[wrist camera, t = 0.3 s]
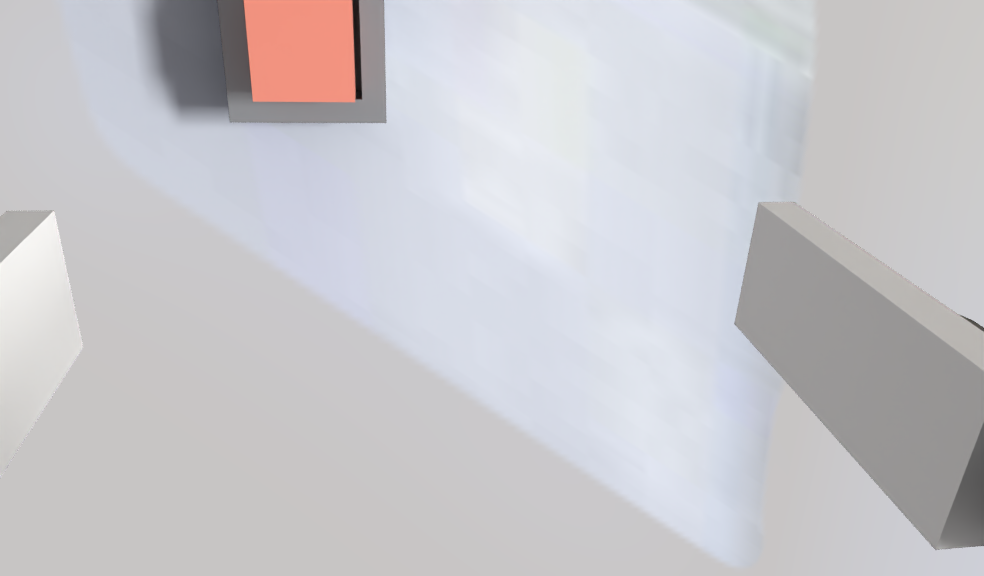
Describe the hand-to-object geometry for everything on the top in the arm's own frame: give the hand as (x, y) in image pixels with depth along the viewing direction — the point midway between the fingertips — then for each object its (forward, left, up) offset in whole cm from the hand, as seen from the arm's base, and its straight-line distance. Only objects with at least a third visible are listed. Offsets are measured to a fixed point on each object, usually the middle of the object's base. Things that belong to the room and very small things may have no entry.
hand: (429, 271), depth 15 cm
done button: (-1, -4, -24) cm, 25 cm away
